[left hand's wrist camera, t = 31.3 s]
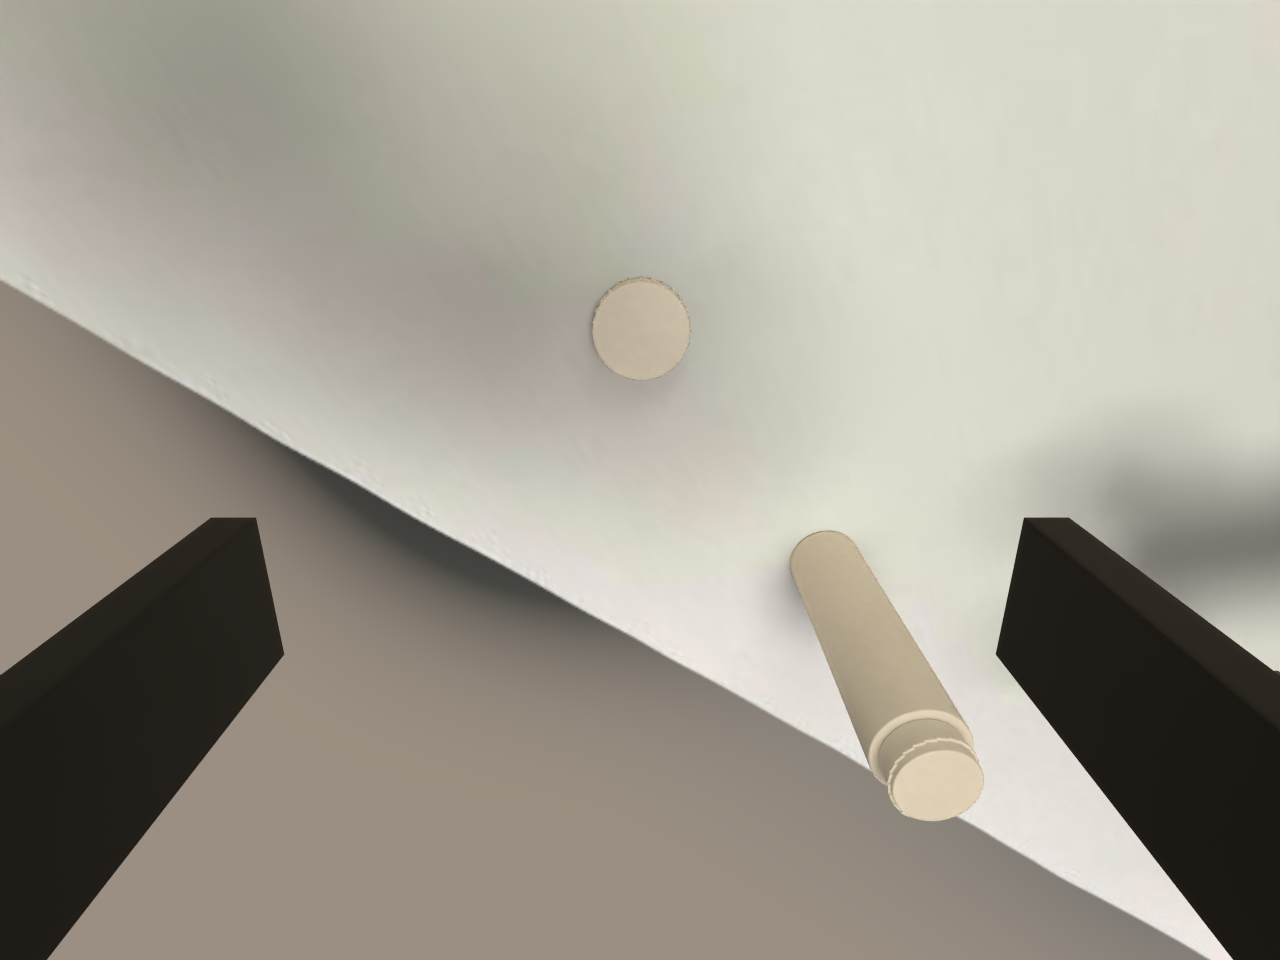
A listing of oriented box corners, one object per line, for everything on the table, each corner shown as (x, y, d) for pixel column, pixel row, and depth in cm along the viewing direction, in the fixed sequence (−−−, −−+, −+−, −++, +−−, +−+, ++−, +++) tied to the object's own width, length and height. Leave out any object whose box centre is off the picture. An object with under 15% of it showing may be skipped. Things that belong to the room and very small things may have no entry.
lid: (693, 366, 41) (696, 375, 39) (600, 378, 41) (598, 387, 39) (683, 270, 39) (685, 274, 37) (586, 283, 40) (583, 287, 38)
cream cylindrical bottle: (819, 518, 44) (934, 724, 27) (873, 553, 45) (1018, 775, 28) (776, 570, 46) (859, 798, 28) (829, 603, 47) (942, 845, 29)
